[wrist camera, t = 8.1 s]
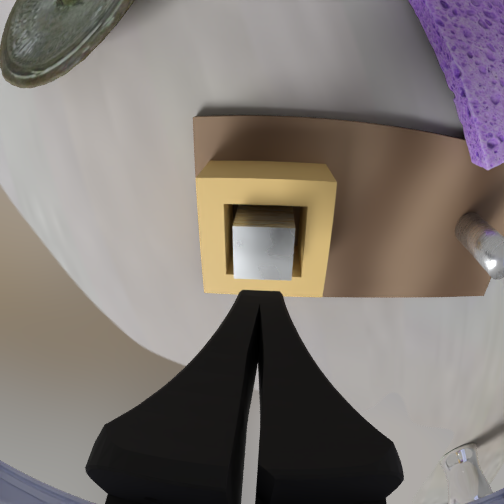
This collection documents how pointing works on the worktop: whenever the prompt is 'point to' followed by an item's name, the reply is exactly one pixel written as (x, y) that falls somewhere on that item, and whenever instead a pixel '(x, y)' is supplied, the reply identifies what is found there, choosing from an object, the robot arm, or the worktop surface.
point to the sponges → (471, 68)
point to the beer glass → (464, 475)
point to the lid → (54, 37)
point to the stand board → (369, 205)
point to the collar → (265, 193)
